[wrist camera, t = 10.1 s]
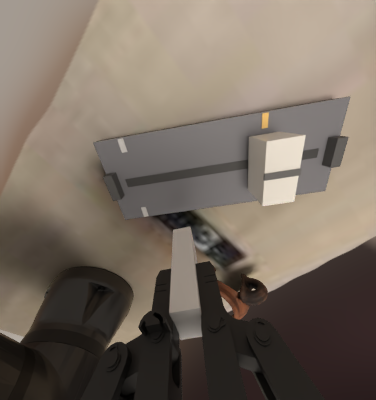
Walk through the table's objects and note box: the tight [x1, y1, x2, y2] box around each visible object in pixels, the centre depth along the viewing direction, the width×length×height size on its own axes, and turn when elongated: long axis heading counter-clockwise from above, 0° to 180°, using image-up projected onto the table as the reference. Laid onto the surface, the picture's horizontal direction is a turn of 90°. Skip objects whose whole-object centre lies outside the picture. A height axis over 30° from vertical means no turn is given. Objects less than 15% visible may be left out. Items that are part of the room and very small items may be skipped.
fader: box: [248, 132, 306, 206], centre depth 15 cm, size 3×6×4 cm, turn 9°
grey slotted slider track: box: [93, 97, 350, 220], centre depth 18 cm, size 26×10×3 cm, turn 99°
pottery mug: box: [214, 268, 268, 320], centre depth 28 cm, size 12×10×8 cm
